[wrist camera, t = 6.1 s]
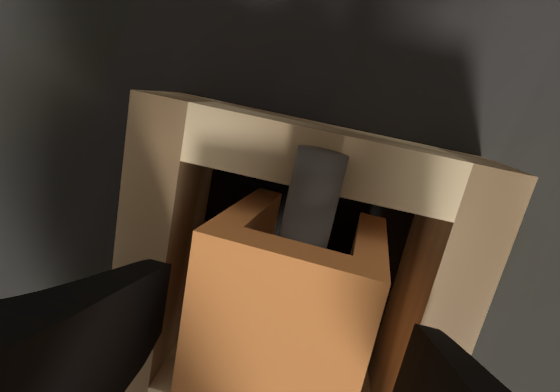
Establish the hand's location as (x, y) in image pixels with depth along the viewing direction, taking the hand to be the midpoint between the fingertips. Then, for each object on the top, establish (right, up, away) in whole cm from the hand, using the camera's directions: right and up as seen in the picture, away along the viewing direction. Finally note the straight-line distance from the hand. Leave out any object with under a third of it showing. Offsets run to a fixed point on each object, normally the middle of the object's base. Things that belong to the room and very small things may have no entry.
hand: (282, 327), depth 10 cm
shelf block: (+1, +1, +4) cm, 4 cm away
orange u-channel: (+1, +1, +3) cm, 4 cm away
